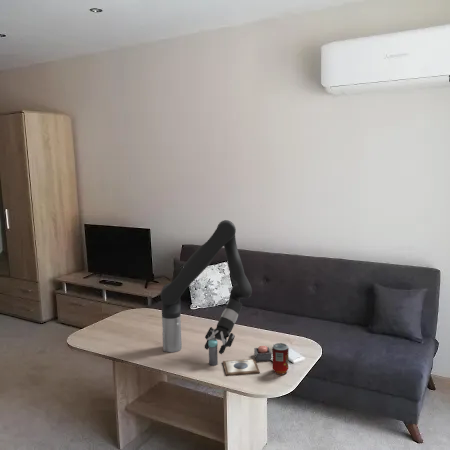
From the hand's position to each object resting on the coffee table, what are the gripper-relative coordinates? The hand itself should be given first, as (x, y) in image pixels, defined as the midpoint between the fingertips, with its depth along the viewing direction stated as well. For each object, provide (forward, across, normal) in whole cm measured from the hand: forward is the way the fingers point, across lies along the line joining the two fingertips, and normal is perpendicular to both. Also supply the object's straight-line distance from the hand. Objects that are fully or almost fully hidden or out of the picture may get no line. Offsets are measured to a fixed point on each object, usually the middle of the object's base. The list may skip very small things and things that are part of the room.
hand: (213, 351), depth 207 cm
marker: (+4, 0, +4) cm, 6 cm away
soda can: (-4, +29, +13) cm, 32 cm away
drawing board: (+1, +13, +8) cm, 15 cm away
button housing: (-9, +15, +18) cm, 25 cm away
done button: (-11, +15, +16) cm, 25 cm away
